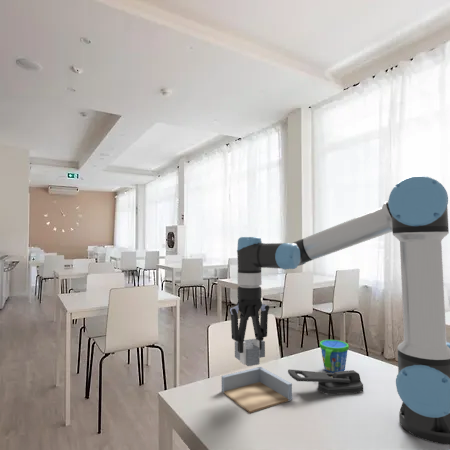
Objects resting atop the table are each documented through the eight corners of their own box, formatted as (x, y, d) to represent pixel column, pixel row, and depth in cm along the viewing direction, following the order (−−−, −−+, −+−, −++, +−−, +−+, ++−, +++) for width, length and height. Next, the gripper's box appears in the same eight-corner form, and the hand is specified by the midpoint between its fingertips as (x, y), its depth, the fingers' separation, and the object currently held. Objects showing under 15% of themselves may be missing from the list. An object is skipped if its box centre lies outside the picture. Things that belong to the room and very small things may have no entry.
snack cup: (339, 380, 120) (338, 351, 121) (312, 373, 127) (311, 345, 128) (355, 368, 132) (355, 341, 132) (330, 361, 139) (329, 336, 139)
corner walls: (292, 399, 106) (291, 383, 106) (249, 413, 98) (249, 395, 98) (260, 381, 120) (260, 366, 120) (221, 391, 112) (221, 376, 112)
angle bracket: (258, 353, 114) (258, 338, 114) (273, 361, 106) (273, 345, 106) (234, 357, 110) (234, 341, 110) (247, 366, 102) (247, 349, 102)
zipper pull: (285, 368, 115) (351, 362, 120) (285, 388, 114) (351, 381, 120) (296, 379, 106) (367, 371, 111) (296, 400, 106) (367, 392, 111)
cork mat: (288, 401, 105) (288, 399, 105) (249, 413, 98) (249, 411, 98) (259, 383, 118) (259, 381, 118) (223, 393, 111) (223, 391, 111)
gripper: (266, 283, 113) (266, 354, 112) (219, 286, 106) (219, 362, 105) (279, 285, 106) (279, 361, 105) (230, 289, 99) (230, 370, 98)
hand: (249, 361), depth 105 cm, fingers closed on angle bracket, 4 cm apart
